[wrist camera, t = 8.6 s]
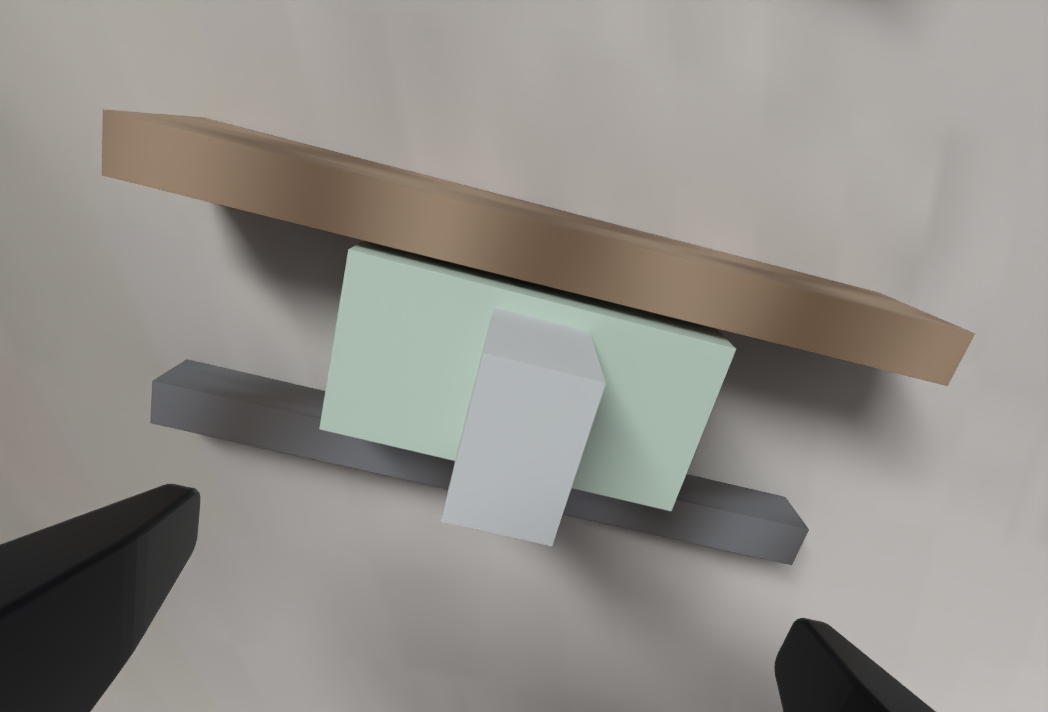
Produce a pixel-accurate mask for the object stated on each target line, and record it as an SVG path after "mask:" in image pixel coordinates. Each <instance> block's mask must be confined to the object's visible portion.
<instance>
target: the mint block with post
mask: <svg viewBox="0 0 1048 712" xmlns="http://www.w3.org/2000/svg"><path fill="white" fill-rule="evenodd" d="M735 351H736V348H735V347H734V346H733V345H732V344H731V343H730V342H729V341H728V340H727V339H726V338H725V337H724V336H723V335H722V334H721V333H720V332H719V331H718V330H717V329H716V328H713V327H709V326H705V325H701V324H697V323H693V322H689V321H685V320H681V319H677V318H673V317H669V316H665V315H661V314H657V313H653V312H649V311H645V310H641V309H637V308H633V307H629V306H625V305H621V304H617V303H613V302H609V301H605V300H601V299H597V298H593V297H588V296H584V295H580V294H576V293H572V292H568V291H564V290H560V289H556V288H552V287H548V286H544V285H540V284H536V283H532V282H528V281H524V280H520V279H516V278H512V277H508V276H504V275H500V274H496V273H492V272H488V271H484V270H480V269H476V268H472V267H468V266H464V265H460V264H456V263H452V262H448V261H444V260H440V259H436V258H432V257H428V256H424V255H420V254H416V253H412V252H408V251H404V250H400V249H396V248H392V247H388V246H384V245H380V244H376V243H372V242H368V241H362V242H360V243H359V244H357V245H355V246H354V247H352V248H350V249H348V254H347V261H346V267H345V273H344V279H343V285H342V292H341V298H340V304H339V310H338V316H337V323H336V329H335V335H334V341H333V347H332V354H331V360H330V366H329V372H328V378H327V385H326V391H325V397H324V403H323V409H322V415H321V422H320V428H319V429H320V430H325V431H329V432H333V433H338V434H342V435H346V436H350V437H355V438H359V439H363V440H368V441H372V442H376V443H380V444H385V445H389V446H393V447H398V448H402V449H406V450H410V451H415V452H419V453H423V454H428V455H432V456H436V457H441V458H445V459H449V460H453V461H455V464H454V468H453V472H452V476H451V481H450V485H449V489H448V493H447V497H446V502H445V506H444V510H443V514H442V518H441V522H445V523H450V524H454V525H459V526H463V527H468V528H472V529H476V530H481V531H485V532H490V533H494V534H499V535H503V536H508V537H512V538H516V539H521V540H525V541H530V542H534V543H539V544H543V545H548V546H552V545H553V542H554V539H555V536H556V533H557V530H558V527H559V524H560V521H561V518H562V515H563V512H564V509H565V506H566V503H567V500H568V497H569V494H570V491H571V488H574V489H578V490H582V491H586V492H591V493H595V494H599V495H604V496H608V497H612V498H616V499H621V500H625V501H629V502H634V503H638V504H642V505H646V506H651V507H655V508H659V509H664V510H668V511H672V509H673V506H674V504H675V501H676V499H677V496H678V494H679V491H680V489H681V486H682V484H683V481H684V479H685V476H686V474H687V471H688V469H689V466H690V464H691V461H692V459H693V456H694V454H695V451H696V448H697V446H698V443H699V441H700V438H701V436H702V433H703V431H704V428H705V426H706V423H707V421H708V418H709V416H710V413H711V411H712V408H713V406H714V403H715V401H716V398H717V396H718V393H719V391H720V388H721V386H722V383H723V381H724V378H725V376H726V373H727V371H728V368H729V366H730V363H731V361H732V358H733V356H734V353H735Z"/></svg>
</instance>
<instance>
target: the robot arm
mask: <svg viewBox="0 0 1048 712" xmlns="http://www.w3.org/2000/svg"><path fill="white" fill-rule="evenodd" d="M199 511H200V493H199V492H198V491H197V490H196V489H195V488H190V487H185V486H181V485H176V484H166V485H162V486H160V487H157V488H154V489H151V490H149V491H146V492H143V493H141V494H138V495H135V496H132V497H130V498H127V499H124V500H121V501H119V502H116V503H113V504H110V505H108V506H105V507H102V508H99V509H97V510H94V511H91V512H89V513H86V514H83V515H80V516H78V517H75V518H72V519H69V520H67V521H64V522H61V523H58V524H56V525H53V526H50V527H47V528H45V529H42V530H39V531H36V532H34V533H31V534H28V535H26V536H23V537H20V538H17V539H15V540H12V541H9V542H6V543H4V544H1V545H0V712H90V711H91V710H92V709H93V707H94V706H95V705H96V703H97V702H98V701H99V699H100V698H101V697H102V695H103V694H104V692H105V691H106V690H107V688H108V687H109V686H110V684H111V683H112V682H113V680H114V679H115V678H116V676H117V675H118V673H119V672H120V671H121V669H122V668H123V666H124V665H125V664H126V662H127V661H128V659H129V658H130V656H131V655H132V654H133V652H134V650H135V649H136V647H137V646H138V644H139V642H140V641H141V639H142V637H143V636H144V634H145V632H146V631H147V629H148V627H149V626H150V624H151V622H152V621H153V619H154V617H155V615H156V614H157V612H158V610H159V609H160V607H161V605H162V604H163V602H164V600H165V598H166V597H167V595H168V593H169V592H170V590H171V588H172V587H173V585H174V583H175V582H176V580H177V578H178V576H179V575H180V573H181V571H182V570H183V568H184V566H185V565H186V563H187V561H188V559H189V558H190V556H191V554H192V552H193V550H194V547H195V545H196V541H197V535H198V523H199ZM775 677H776V681H777V685H778V690H779V694H780V698H781V703H782V707H783V712H935V711H934V710H933V709H932V708H930V707H929V706H928V705H927V704H926V703H924V702H923V701H922V700H921V699H919V698H918V697H917V696H916V695H915V694H913V693H912V692H911V691H910V690H908V689H907V688H906V687H905V686H903V685H902V684H901V683H900V682H899V681H897V680H896V679H895V678H894V677H892V676H891V675H890V674H889V673H887V672H886V671H885V670H884V669H883V668H881V667H880V666H879V665H878V664H876V663H875V662H874V661H873V660H871V659H870V658H869V657H868V656H867V655H865V654H864V653H863V652H862V651H860V650H859V649H858V648H857V647H855V646H854V645H853V644H852V643H851V642H849V641H848V640H847V639H846V638H844V637H843V636H842V635H841V634H840V633H838V632H837V631H836V630H835V629H833V628H832V627H831V626H830V625H828V624H826V623H824V622H821V621H816V620H811V619H806V618H799V619H797V620H796V621H795V622H794V623H793V625H792V626H791V628H790V630H789V632H788V634H787V636H786V638H785V640H784V642H783V644H782V646H781V648H780V650H779V652H778V654H777V657H776V660H775Z"/></svg>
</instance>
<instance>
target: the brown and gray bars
mask: <svg viewBox="0 0 1048 712" xmlns="http://www.w3.org/2000/svg"><path fill="white" fill-rule="evenodd" d="M102 175H103V176H107V177H111V178H115V179H119V180H123V181H127V182H131V183H135V184H139V185H143V186H147V187H151V188H155V189H159V190H163V191H167V192H171V193H175V194H179V195H183V196H187V197H191V198H195V199H199V200H203V201H207V202H211V203H215V204H219V205H223V206H227V207H231V208H235V209H239V210H244V211H248V212H252V213H256V214H260V215H264V216H268V217H272V218H276V219H280V220H284V221H288V222H292V223H296V224H300V225H304V226H308V227H312V228H316V229H320V230H324V231H328V232H332V233H336V234H340V235H344V236H348V237H352V238H356V239H360V240H364V241H368V242H372V243H376V244H380V245H384V246H388V247H392V248H396V249H400V250H404V251H408V252H412V253H416V254H420V255H424V256H428V257H432V258H436V259H440V260H444V261H448V262H452V263H456V264H460V265H464V266H468V267H472V268H476V269H480V270H484V271H488V272H492V273H496V274H500V275H504V276H508V277H512V278H516V279H520V280H524V281H528V282H532V283H536V284H540V285H544V286H548V287H552V288H556V289H560V290H564V291H568V292H572V293H576V294H580V295H584V296H588V297H593V298H597V299H601V300H605V301H609V302H613V303H617V304H621V305H625V306H629V307H633V308H637V309H641V310H645V311H649V312H653V313H657V314H661V315H665V316H669V317H673V318H677V319H681V320H685V321H689V322H693V323H697V324H701V325H705V326H709V327H713V328H717V329H721V330H725V331H729V332H733V333H737V334H741V335H745V336H749V337H753V338H757V339H761V340H765V341H769V342H773V343H777V344H781V345H785V346H789V347H793V348H797V349H801V350H805V351H809V352H813V353H817V354H821V355H825V356H829V357H833V358H837V359H841V360H845V361H849V362H853V363H857V364H861V365H865V366H869V367H873V368H877V369H881V370H885V371H889V372H893V373H897V374H901V375H905V376H909V377H913V378H917V379H921V380H925V381H929V382H933V383H937V384H942V385H946V386H948V384H949V382H950V380H951V378H952V376H953V374H954V373H955V371H956V369H957V367H958V365H959V363H960V361H961V359H962V357H963V355H964V354H965V352H966V350H967V348H968V346H969V344H970V342H971V340H972V338H973V336H974V335H975V333H972V332H970V331H968V330H965V329H963V328H961V327H958V326H956V325H953V324H951V323H949V322H946V321H944V320H942V319H939V318H937V317H935V316H932V315H930V314H928V313H925V312H923V311H921V310H918V309H916V308H914V307H911V306H909V305H906V304H904V303H902V302H899V301H897V300H895V299H892V298H890V297H888V296H885V295H883V294H881V293H878V292H874V291H870V290H866V289H862V288H858V287H855V286H851V285H847V284H843V283H839V282H835V281H831V280H828V279H824V278H820V277H816V276H812V275H808V274H804V273H801V272H797V271H793V270H789V269H785V268H781V267H777V266H774V265H770V264H766V263H762V262H758V261H754V260H750V259H747V258H743V257H739V256H735V255H731V254H727V253H723V252H719V251H716V250H712V249H708V248H704V247H700V246H696V245H692V244H689V243H685V242H681V241H677V240H673V239H669V238H665V237H662V236H658V235H654V234H650V233H646V232H642V231H638V230H635V229H631V228H627V227H623V226H619V225H615V224H611V223H608V222H604V221H600V220H596V219H592V218H588V217H584V216H581V215H577V214H573V213H569V212H565V211H561V210H557V209H554V208H550V207H546V206H542V205H538V204H534V203H530V202H527V201H523V200H519V199H515V198H511V197H507V196H503V195H499V194H496V193H492V192H488V191H484V190H480V189H476V188H472V187H469V186H465V185H461V184H457V183H453V182H449V181H445V180H442V179H438V178H434V177H430V176H426V175H422V174H418V173H415V172H411V171H407V170H403V169H399V168H395V167H391V166H388V165H384V164H380V163H376V162H372V161H368V160H364V159H361V158H357V157H353V156H349V155H345V154H341V153H337V152H334V151H330V150H326V149H322V148H318V147H314V146H310V145H307V144H303V143H299V142H295V141H291V140H287V139H283V138H279V137H276V136H272V135H268V134H264V133H260V132H256V131H252V130H249V129H245V128H241V127H237V126H233V125H229V124H225V123H222V122H218V121H214V120H210V119H206V118H201V117H188V116H176V115H164V114H152V113H139V112H127V111H115V110H103V138H102ZM324 397H325V391H322V390H317V389H313V388H309V387H304V386H300V385H296V384H291V383H287V382H282V381H278V380H274V379H269V378H265V377H261V376H256V375H252V374H248V373H243V372H239V371H235V370H230V369H226V368H222V367H217V366H213V365H209V364H204V363H200V362H195V361H191V360H185V361H184V362H182V363H180V364H179V365H177V366H176V367H174V368H172V369H171V370H169V371H168V372H166V373H164V374H163V375H161V376H160V377H158V378H157V379H155V380H153V381H152V401H151V422H150V423H153V424H157V425H162V426H166V427H171V428H175V429H180V430H184V431H189V432H193V433H198V434H202V435H207V436H211V437H216V438H220V439H225V440H229V441H234V442H238V443H243V444H247V445H252V446H256V447H261V448H265V449H270V450H274V451H279V452H283V453H288V454H292V455H297V456H302V457H306V458H311V459H315V460H320V461H324V462H329V463H333V464H338V465H342V466H347V467H351V468H356V469H360V470H365V471H369V472H374V473H378V474H383V475H387V476H392V477H396V478H401V479H405V480H410V481H414V482H419V483H423V484H428V485H432V486H437V487H441V488H446V489H449V485H450V481H451V476H452V472H453V468H454V464H455V461H453V460H449V459H445V458H441V457H436V456H432V455H428V454H423V453H419V452H415V451H410V450H406V449H402V448H398V447H393V446H389V445H385V444H380V443H376V442H372V441H368V440H363V439H359V438H355V437H350V436H346V435H342V434H338V433H333V432H329V431H325V430H320V429H319V428H320V422H321V415H322V409H323V403H324ZM563 515H568V516H572V517H577V518H581V519H586V520H590V521H595V522H599V523H604V524H609V525H613V526H618V527H622V528H627V529H631V530H636V531H640V532H645V533H649V534H654V535H658V536H663V537H667V538H672V539H676V540H681V541H685V542H690V543H694V544H699V545H703V546H708V547H712V548H717V549H721V550H726V551H730V552H735V553H739V554H744V555H748V556H753V557H758V558H762V559H767V560H771V561H776V562H780V563H785V564H789V565H792V564H793V562H794V560H795V558H796V555H797V553H798V551H799V549H800V547H801V545H802V543H803V541H804V539H805V537H806V535H807V533H808V531H809V529H808V528H807V526H806V525H805V524H804V522H803V521H802V519H801V518H800V517H799V515H798V514H797V513H796V511H795V510H794V508H793V507H792V506H791V504H790V503H789V501H788V500H787V499H786V497H783V496H778V495H774V494H769V493H765V492H761V491H756V490H752V489H748V488H743V487H739V486H735V485H730V484H726V483H722V482H717V481H713V480H709V479H704V478H700V477H696V476H691V475H687V474H686V476H685V479H684V481H683V484H682V486H681V489H680V491H679V494H678V496H677V499H676V501H675V504H674V506H673V509H672V511H668V510H664V509H659V508H655V507H651V506H646V505H642V504H638V503H634V502H629V501H625V500H621V499H616V498H612V497H608V496H604V495H599V494H595V493H591V492H586V491H582V490H578V489H574V488H571V491H570V494H569V497H568V500H567V503H566V506H565V509H564V512H563Z"/></svg>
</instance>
